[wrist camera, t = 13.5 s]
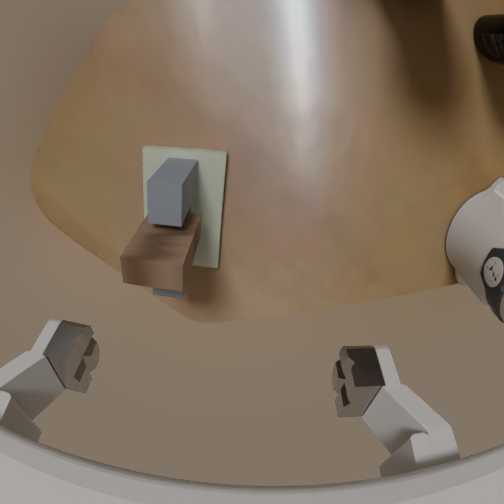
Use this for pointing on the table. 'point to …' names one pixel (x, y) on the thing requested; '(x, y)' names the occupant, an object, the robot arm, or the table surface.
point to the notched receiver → (186, 196)
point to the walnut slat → (161, 254)
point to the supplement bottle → (491, 37)
